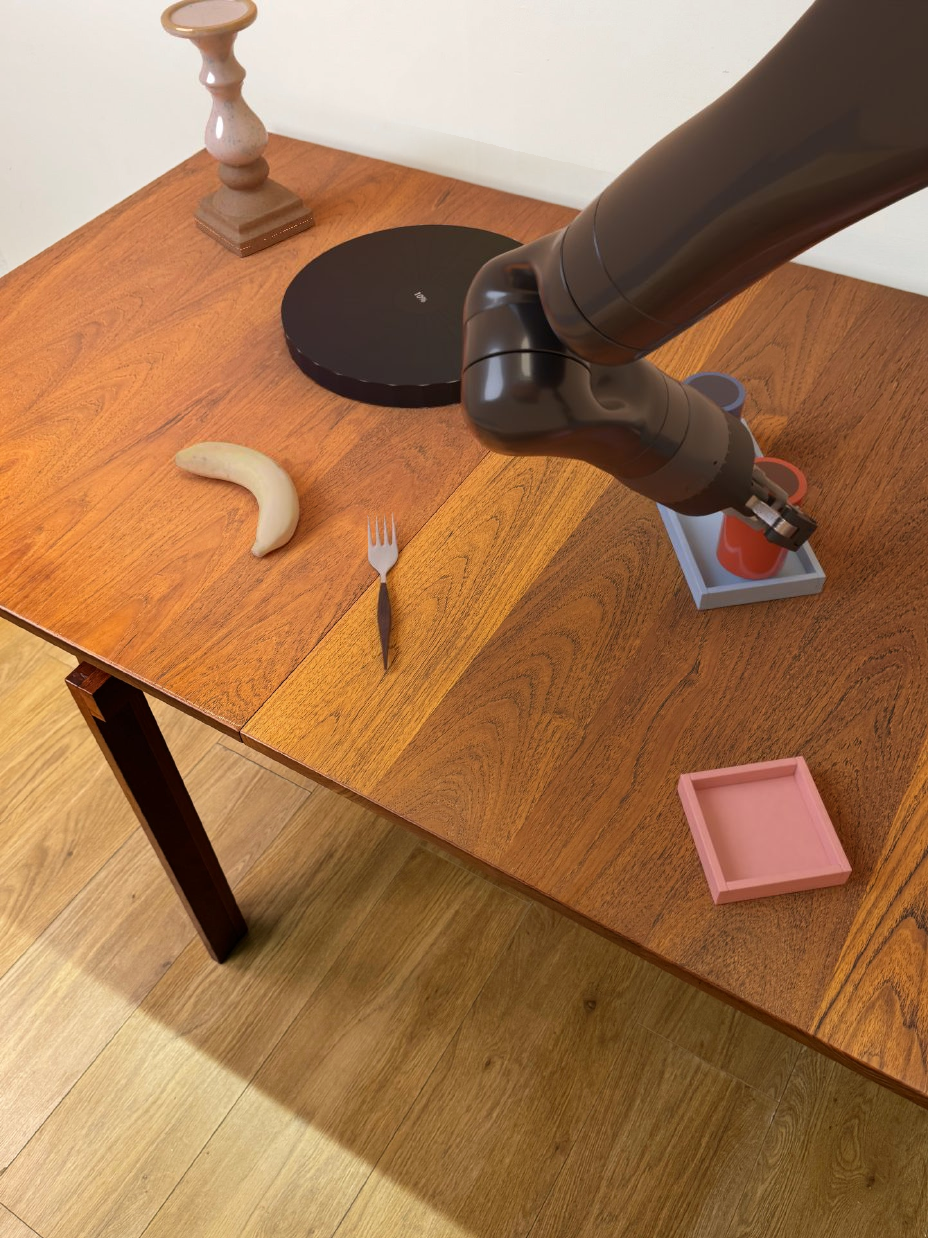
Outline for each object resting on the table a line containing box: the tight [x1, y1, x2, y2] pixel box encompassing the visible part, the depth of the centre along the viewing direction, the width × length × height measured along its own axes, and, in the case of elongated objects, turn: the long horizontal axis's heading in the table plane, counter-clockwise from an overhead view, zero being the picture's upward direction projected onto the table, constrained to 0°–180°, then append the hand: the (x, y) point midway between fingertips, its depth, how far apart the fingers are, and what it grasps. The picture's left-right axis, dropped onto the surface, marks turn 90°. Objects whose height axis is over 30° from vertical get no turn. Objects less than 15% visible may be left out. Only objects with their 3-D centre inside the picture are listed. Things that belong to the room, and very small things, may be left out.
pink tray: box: [676, 755, 853, 906], centre depth 67 cm, size 9×9×2 cm
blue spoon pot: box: [682, 371, 747, 421], centre depth 88 cm, size 6×6×8 cm
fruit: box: [174, 440, 300, 558], centre depth 90 cm, size 7×15×3 cm, turn 38°
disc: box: [280, 224, 525, 409], centre depth 107 cm, size 30×30×3 cm
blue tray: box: [655, 417, 827, 611], centre depth 86 cm, size 10×20×2 cm, turn 8°
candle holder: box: [160, 0, 316, 258], centre depth 114 cm, size 11×11×24 cm
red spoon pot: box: [716, 456, 808, 580], centre depth 78 cm, size 6×6×8 cm
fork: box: [367, 512, 399, 671], centre depth 82 cm, size 3×16×2 cm, turn 4°
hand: (776, 508), depth 79 cm, fingers closed on red spoon pot, 5 cm apart
